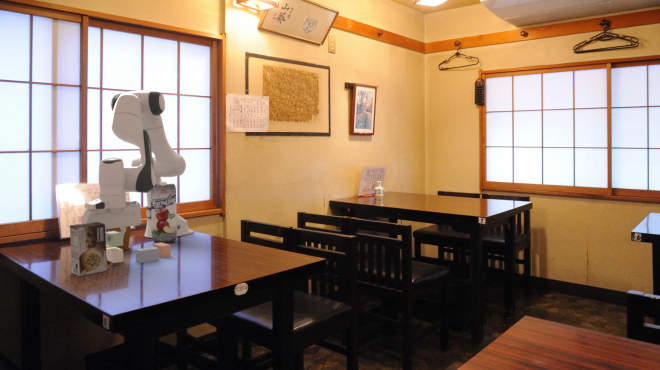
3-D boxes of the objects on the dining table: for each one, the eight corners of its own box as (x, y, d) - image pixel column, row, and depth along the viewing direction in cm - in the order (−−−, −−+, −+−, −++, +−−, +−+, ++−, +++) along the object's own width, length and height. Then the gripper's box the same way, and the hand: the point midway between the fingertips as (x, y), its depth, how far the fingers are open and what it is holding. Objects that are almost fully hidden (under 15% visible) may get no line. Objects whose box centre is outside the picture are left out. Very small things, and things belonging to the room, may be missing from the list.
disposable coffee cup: (137, 246, 197) (136, 218, 196) (125, 251, 188) (124, 222, 187) (115, 246, 198) (114, 218, 197) (102, 251, 189) (101, 221, 188)
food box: (98, 267, 162) (97, 221, 160) (107, 271, 157) (106, 223, 156) (70, 273, 154) (69, 224, 153) (79, 276, 150) (77, 226, 149)
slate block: (136, 261, 172) (135, 249, 171) (155, 258, 176) (155, 246, 176) (139, 263, 169) (139, 250, 169) (158, 260, 173) (158, 248, 173)
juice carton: (152, 240, 211) (151, 180, 209) (177, 239, 214) (176, 180, 212) (151, 244, 202) (149, 182, 200) (177, 243, 205) (175, 181, 204)
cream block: (115, 258, 176) (115, 246, 176) (123, 261, 171) (122, 249, 171) (106, 260, 174) (105, 248, 173) (113, 263, 169) (113, 251, 168)
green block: (114, 242, 175) (114, 231, 175) (123, 245, 171) (122, 233, 171) (105, 244, 173) (104, 232, 172) (113, 246, 168) (113, 234, 168)
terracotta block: (161, 253, 185) (161, 242, 184) (170, 256, 180) (170, 244, 180) (153, 255, 182) (152, 243, 182) (162, 257, 178) (162, 246, 177)
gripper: (136, 200, 181) (137, 235, 182) (80, 204, 165) (81, 243, 166) (144, 201, 177) (145, 237, 178) (87, 205, 161) (89, 245, 162)
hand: (113, 240), depth 172 cm, fingers closed on green block, 3 cm apart
